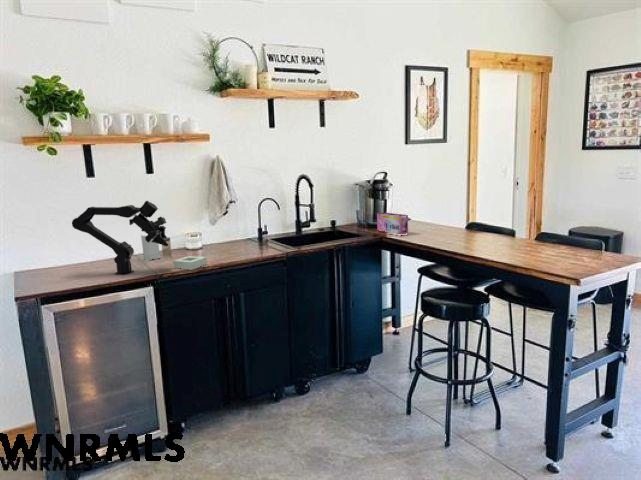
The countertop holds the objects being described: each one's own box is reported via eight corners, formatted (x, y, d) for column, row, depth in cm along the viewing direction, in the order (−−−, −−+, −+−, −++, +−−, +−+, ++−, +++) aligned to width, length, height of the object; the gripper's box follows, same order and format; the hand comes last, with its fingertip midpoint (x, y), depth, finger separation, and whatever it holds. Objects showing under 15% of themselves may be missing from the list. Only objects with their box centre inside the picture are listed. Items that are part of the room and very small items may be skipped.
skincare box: (158, 257, 285) (155, 232, 282) (160, 259, 280) (157, 233, 277) (143, 259, 281) (140, 233, 278) (145, 261, 276) (142, 235, 273)
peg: (167, 258, 246) (166, 239, 244) (161, 258, 248) (159, 238, 246) (173, 256, 250) (171, 237, 248) (167, 256, 252) (165, 237, 250)
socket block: (192, 269, 250) (191, 262, 249) (173, 268, 255) (173, 260, 254) (206, 264, 261) (206, 257, 260) (188, 263, 266) (188, 256, 265)
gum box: (410, 235, 323) (409, 215, 321) (401, 237, 319) (401, 216, 316) (385, 231, 343) (385, 212, 340) (376, 233, 338) (376, 213, 336)
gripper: (149, 214, 235) (174, 236, 238) (160, 210, 254) (183, 230, 256) (134, 231, 236) (159, 252, 239) (146, 225, 255) (169, 245, 257)
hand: (168, 244), depth 248 cm, fingers closed on peg, 4 cm apart
